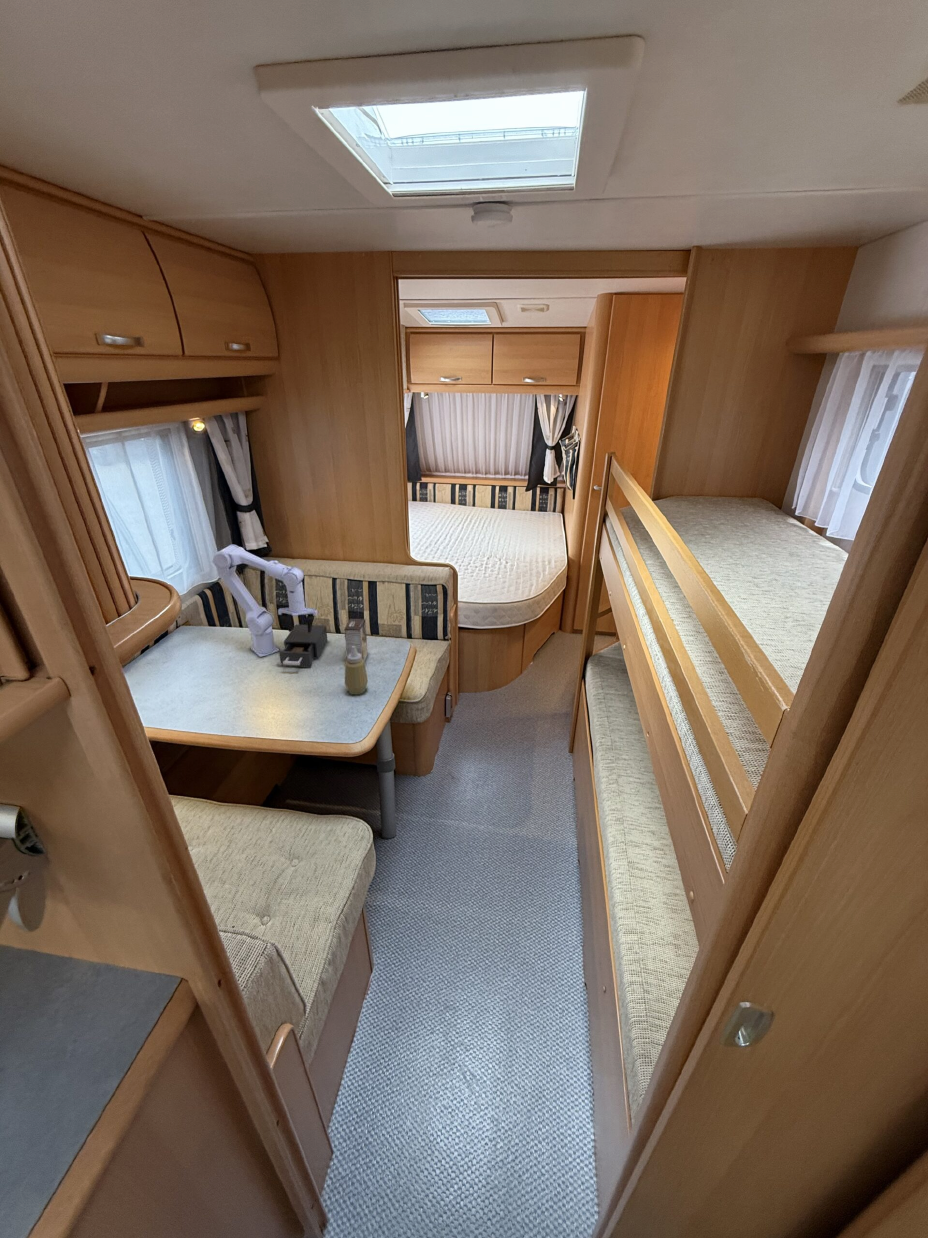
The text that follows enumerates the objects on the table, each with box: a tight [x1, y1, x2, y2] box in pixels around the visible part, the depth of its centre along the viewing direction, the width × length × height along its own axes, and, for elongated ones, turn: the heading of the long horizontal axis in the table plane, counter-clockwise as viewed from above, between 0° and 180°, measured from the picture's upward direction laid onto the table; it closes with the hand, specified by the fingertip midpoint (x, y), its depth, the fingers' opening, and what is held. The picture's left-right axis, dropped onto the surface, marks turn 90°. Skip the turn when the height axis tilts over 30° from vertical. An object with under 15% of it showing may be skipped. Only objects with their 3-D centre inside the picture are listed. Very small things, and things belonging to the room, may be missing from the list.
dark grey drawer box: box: [283, 624, 329, 660], centre depth 200 cm, size 15×13×8 cm
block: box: [292, 647, 305, 652], centre depth 190 cm, size 4×4×4 cm
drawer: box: [278, 643, 315, 668], centre depth 191 cm, size 18×11×6 cm, turn 179°
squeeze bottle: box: [344, 646, 369, 696], centre depth 173 cm, size 8×8×18 cm
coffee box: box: [344, 618, 369, 663], centre depth 192 cm, size 9×6×16 cm
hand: (300, 631), depth 194 cm, fingers open, 7 cm apart
